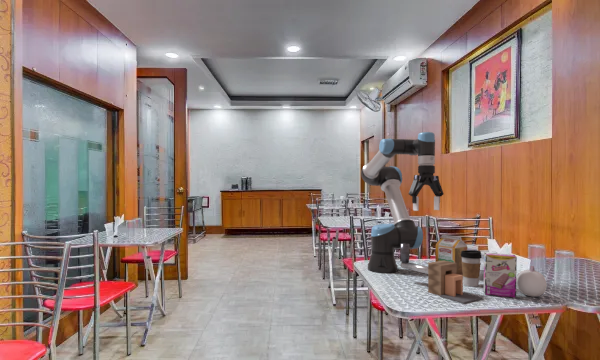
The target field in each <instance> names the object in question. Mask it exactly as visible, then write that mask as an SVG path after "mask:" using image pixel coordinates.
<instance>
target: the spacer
mask: <svg viewBox="0 0 600 360" xmlns="http://www.w3.org/2000/svg"><path fill="white" fill-rule="evenodd" d="M463 292H464V282H463V275H459V274H454V273H453V274H448V275H445V294H447V295H450V296H453V297H455V296H456V294H460V295H463Z"/></svg>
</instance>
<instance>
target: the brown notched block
mask: <svg viewBox="0 0 600 360" xmlns="http://www.w3.org/2000/svg"><path fill="white" fill-rule="evenodd" d="M427 265H428V266H427V267H428V274H427V277H428V278H427V286H428V287H427V290H428V291H427V292H428V294H429V293H430V294H433V295H435V296H439V297H440V295H444V294H445V275H448V274H453V273H454V274H457V263H454V262H449V261H444V260H443V261H437V262H435V261H431V262H428V263H427Z"/></svg>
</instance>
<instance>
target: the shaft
mask: <svg viewBox="0 0 600 360" xmlns="http://www.w3.org/2000/svg"><path fill="white" fill-rule="evenodd" d="M399 250H400V251H399V258H400V260H399V262H400V266H401V268H402V269H406V270H410V271H414V272H417V273H423V274H425V275H428V266H426V265H421V264H419V263H414V262H410V249H409V244H408V243H400V249H399Z"/></svg>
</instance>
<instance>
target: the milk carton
mask: <svg viewBox="0 0 600 360" xmlns="http://www.w3.org/2000/svg"><path fill="white" fill-rule="evenodd" d="M465 250H468V245H467V243H466V242H465V241H463V240H462V237H461V236H456V235H448V234H442V235H441V237H440V239H439V240H438V241H437V242H436V244H435V253H434V254H435V257H434V258H435V261H434V262H437V261H443V260H444V261H449V262H454V263H457V274H459V275H463V272H462V257H461V251H465Z"/></svg>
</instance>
